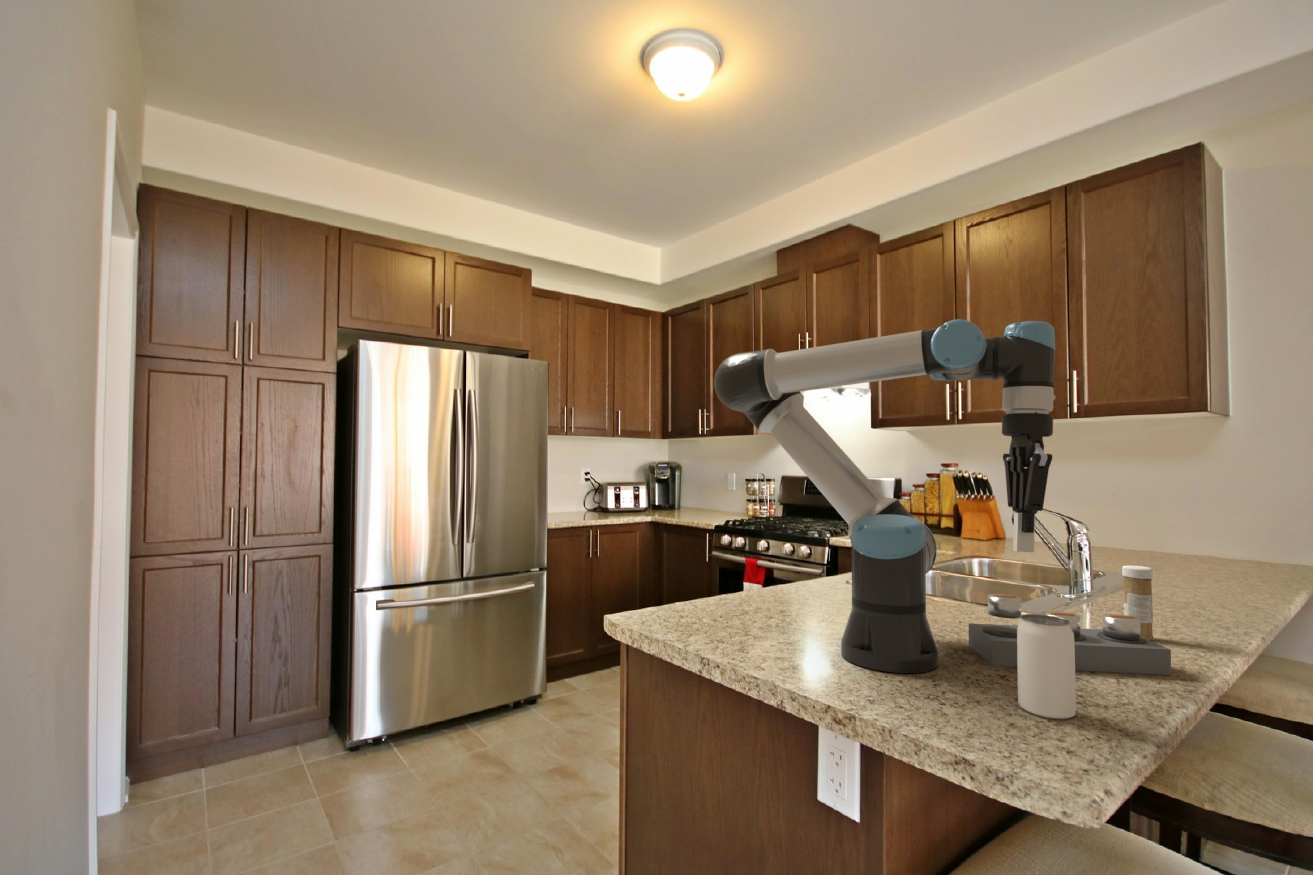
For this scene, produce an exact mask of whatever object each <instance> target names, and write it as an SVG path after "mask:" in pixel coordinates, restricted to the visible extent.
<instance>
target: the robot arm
mask: <svg viewBox="0 0 1313 875" xmlns="http://www.w3.org/2000/svg"><path fill="white" fill-rule="evenodd" d="M1004 328H1005V329H1004V333H1003V335H1000V336H994V337H993V336H992V337H991V336H990V337H987V336H986V337H985V334H984V333H983V332H982V330H981V329H980V328H979V327H978V326H977V325H976V324H975V323H973V322H971V321H969V320H966V319H959V318H958V319H952V320H949V321H946V322H945V323H942V325H939V327H934V328H927V329H922V330H921V329H920V330H915V331H909V332H901V333H896V334H891V335H885V336H875V337H870V338H864V339H859V340H853V341H845V342H840V343H834V344H833V343H832V344H828V345H821V346H814V347H809V348H801V349H795V350H789V351H783V352H777V351H776V350H774V349H773V348H767V349H762V350H752V351H745V352H744V351H743V352H739V353H735V354H732V355H730V356H729V357H727V358H725V359H724V360H723V361H722V362H721V364H719V366H718V368H717V369H716V372H715V375H714V381H713V385H714V389H715V394H716V396H717V398H718V399H719V401H720V403H722V404H723V405H724V406H725V407H726V408H729V409H730V410H732V411H735V412H739V413H743V414H744V415H745V416H746V417H747V418H748V420H749V421H750V422H751V423H752V424H753V426H755V428H756V429H757V430H758V431H759V432H760V433H761V434H771V435H772V437H774V439H775V440H776V441H777V442H778V444H779V445H780V446H781V447H782V448H783V449H784V451H785V452H786V453H787V454H788V455H789V457H790V458H791V459H792V460H793V462H795V464H796V465H797V466H798V467H799V468H800V470H801V471H802V472H803V473H804V474H805V475H806V476H807V478H808V479H809V480H810V482H812V483H813V485H814V486H815V487H816V488H817V490H818V491H819V492H820V493H821V494H822V495H823V497H825V499H826V500H827V501H828V502H829V503H830V505H831V506H832V507H833V508H834V509H835V510H836V512H837V513H838V514H839V515H840V517H841V518H842V519H843V520H844V521H845V522H846V523H847V525H848V534H847V536H848V538H849V540H850V544H851V610H850V614H849V616H848V619H847V622H846V625H845V628H844V631H843V635H842V638H841V642H840V652H841V653H840V654H841V656H842V658H844V659H845V660H846V661H848V662H849V663H852V664H854V665H856V666H860V667H863V668H866V669H870V670H875V671H881V672H888V673H897V674H917V673H926V672H929V671H933V670H935V669H936V668H937V667H938V666H939V650H938V647H937V643H936V641H935V637H934V634H933V632H932V630H931V626H930V622H929V620H928V618H927V584H926V583H927V582H926V581H927V579H926V578H927V576H926V574H928V573H929V572H930V571H931V569H932V568H933V566H934V565H935V562H936V559H937V549H938V547H937V543H936V539H935V537H934V534H933V532H932V531H931V530H930V528H929V527H928V526H927V525H926V524H925V523H924V522H923V521H922V520H920V519H919V518H916V517H914V516H913V515H912V514H911V512H909V510H908V509H907V508H906V507H905V506H904V505H903V504H902V503H901V502H900V501H899V499H897V498H895V497H886V496H884V495H883V494H882V493H881V491H880V490H879V489H878V488H877V487H876V486H875V485H874V484H873V483H872V482H871V481H870V479H869V478H868V477H867V476H866V475H865V474H864V472H862V470H861V469H860V468H859V467H858V466H857V465H856V464H855V463H854V461H853V460H852V459H851V458H850V457H849V456H848V455H847V454H846V453H845V451H844V450H843V449H842V448H841V447H840V446H839V444H838V443H837V442H835V440H834V439H833V438H832V437H831V436H830V435H829V433H828V432H827V431H826V430H825V429H824V428H823V426H821V424H819V422H818V421H817V420H816V419H815V418H814V417H813V416H812V414H810V412H809V411H808V410H807V409H806V408H805V406H804V402H805V401H804V399H805V396H804V395H803V393H802V392H804V391H811V390H819V389H827V388H834V387H842V386H850V385H851V386H852V385H858V384H865V383H872V382H881V381H888V380H895V379H902V378H904V379H905V378H910V377H918V376H925V375H926V376H928V375H929V377H930V379H931V380H933V381H947V382H954V381H977V380H978V381H979V380H980V381H981V380H993V381H995V380H1002V381H1003V384H1002V385H1003V386H1002V397H1001V398H1002V399H1001V400H1002V402H1001V403H1002V405H1001V407H1002V408H1001V410H1002V411H1003V412H1004V414H1003V416H1001V434H1002V436H1006V437H1011V441H1010V445H1009V453H1003V455H1002V460H1003V463H1004V464H1003V465H1004V468H1005V482H1006V484H1005V485H1006V495H1007V497H1006V498H1007V507H1009V508H1011V509H1012V512H1013V540H1012V548H1013V549H1012V551H1015V552H1021V553H1023V552H1024V553H1035V529H1036V528H1035V527H1036V514H1037V513H1038V511H1039V512H1042V511H1043V510H1044V503H1045V497H1046V490H1047V484H1048V477H1049V469H1050V467H1051V465H1052V464H1051V463H1052V461H1053V454H1051V453H1045V451H1044V450H1045V445H1044V439H1043V438H1048V437H1051V436H1052V435H1053V434H1054V416H1053V415H1052V414H1049V413H1050V412H1053V410H1054V401H1055V400H1056V395H1055V394H1054V388H1055V371H1056V370H1055V367H1056V365H1055V363H1056V336H1055V335H1056V333H1055V330H1056V329H1055V327H1054V326H1053V325H1052V324H1051V323H1049V322H1046V321H1038V320H1032V321H1030V320H1028V321H1021V322H1014V323H1011V324H1008V325H1007V326H1006V327H1004Z"/></svg>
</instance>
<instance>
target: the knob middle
mask: <svg viewBox="0 0 1313 875" xmlns="http://www.w3.org/2000/svg"><path fill="white" fill-rule="evenodd" d="M1044 615H1049V616H1055V617H1060V618H1063V619H1066V620H1068V621H1070V624H1069V625H1070V628H1071V630H1072V631H1073V634H1074V637H1079V636H1080V628H1081V616H1080V615H1077V614H1075V613H1073V612H1064V611H1053V610H1052V611H1051V610H1050V611H1045V612H1044Z"/></svg>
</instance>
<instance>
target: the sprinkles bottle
mask: <svg viewBox="0 0 1313 875" xmlns="http://www.w3.org/2000/svg"><path fill="white" fill-rule="evenodd" d="M1121 572H1122V573H1121V575H1122V576H1123V578H1122V579H1123V615H1127V616H1134V617H1136V618H1138V619H1140V632H1141V637H1144V638H1146V639H1148V640H1150V641H1153V640H1154V635H1153V622H1154V620H1153V619H1154V618H1153V617H1154V616H1153V613H1154V611H1153V592H1152V591H1153V589H1152V588H1153V587H1152V586H1153V585H1152V581H1153V577H1154V576H1153V569H1152V567H1148V566H1144V565H1143V566H1142V565H1141V566H1140V565H1132V564H1131V565H1129V564H1127V565H1123V566H1121Z"/></svg>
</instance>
